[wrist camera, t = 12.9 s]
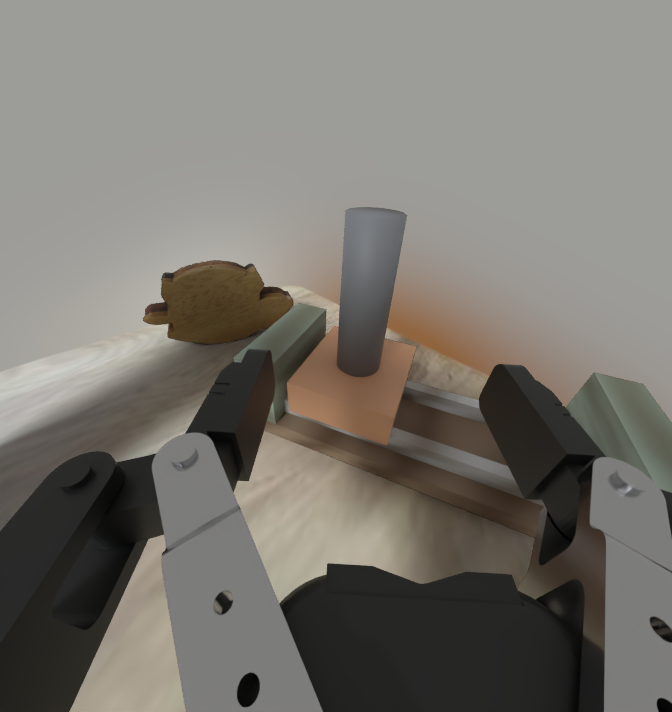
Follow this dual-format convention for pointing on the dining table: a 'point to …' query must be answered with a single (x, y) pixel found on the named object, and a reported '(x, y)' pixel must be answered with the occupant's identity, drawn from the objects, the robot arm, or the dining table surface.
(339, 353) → the carriage
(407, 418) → the rail bed
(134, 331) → the dining table surface
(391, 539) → the dining table surface
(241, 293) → the wooden carving
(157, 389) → the dining table surface
